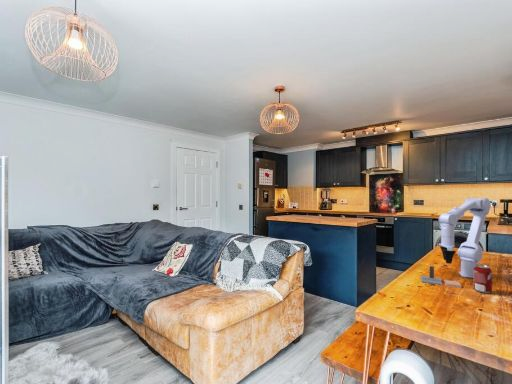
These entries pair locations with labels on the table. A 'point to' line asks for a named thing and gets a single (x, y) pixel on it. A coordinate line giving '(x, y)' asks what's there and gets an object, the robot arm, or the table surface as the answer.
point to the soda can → (482, 279)
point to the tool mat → (430, 281)
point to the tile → (452, 283)
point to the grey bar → (431, 275)
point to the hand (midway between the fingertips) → (447, 261)
